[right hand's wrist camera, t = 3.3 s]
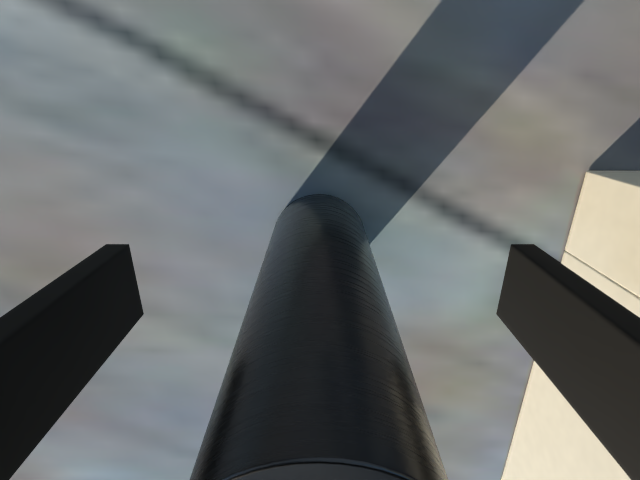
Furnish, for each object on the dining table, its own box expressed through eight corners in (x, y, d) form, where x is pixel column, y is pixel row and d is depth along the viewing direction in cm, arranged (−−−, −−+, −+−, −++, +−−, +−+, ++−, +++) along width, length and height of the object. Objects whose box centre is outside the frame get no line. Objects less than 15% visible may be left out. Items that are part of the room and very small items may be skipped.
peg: (271, 194, 15) (142, 460, 4) (366, 193, 15) (494, 460, 4) (276, 278, 17) (190, 641, 6) (362, 277, 17) (447, 640, 6)
